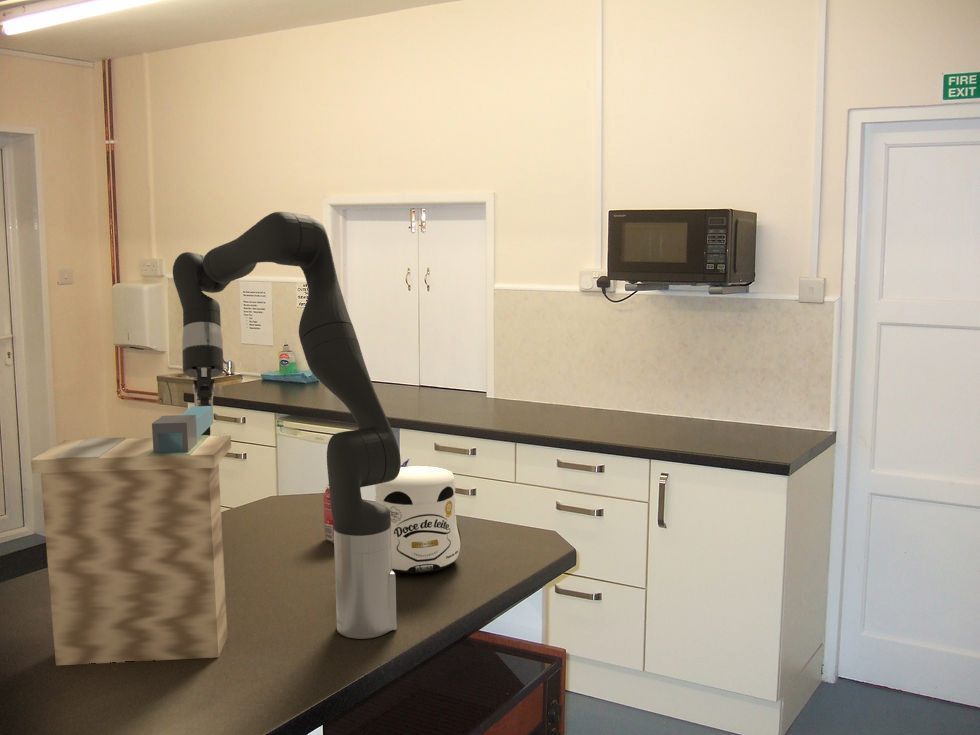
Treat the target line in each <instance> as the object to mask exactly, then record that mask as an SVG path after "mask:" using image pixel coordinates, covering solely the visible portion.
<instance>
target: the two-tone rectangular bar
mask: <svg viewBox="0 0 980 735" xmlns="http://www.w3.org/2000/svg"><path fill="white" fill-rule="evenodd" d="M213 406H214V405H213ZM213 406H195V405H194V406H193V405H192V406H191V407H189V408H188V409H187V410H185V411H184V412H183V413H182V414H180V415H179V414H178V415H161V416H160V417H159V418H158V419H156V420H154V422H152V423H151V431H152V435H151V436H152V438H153V451H154V453H182V452H189V451H190V450H191V449H192V448H193V447H194V446H195V445H196V444H197V438H199V437H200V436H201V435H202V434H203V433H204V432H205V431H206V430H207V429H208V428H209V427H210V428H211V427H212V425H213V424H214V407H213Z"/></svg>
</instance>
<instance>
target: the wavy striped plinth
mask: <svg viewBox="0 0 980 735" xmlns="http://www.w3.org/2000/svg"><path fill="white" fill-rule="evenodd" d="M231 449H232V436H231V435H213V436H211V435H210V436H209V435H201V436H200V437H199V438H197V444H196V445H195V446H194V447H193V448H192V449H191V450H190V451H189V452H182V453H154V451H153V437H140V438H139V437H138V438H137V437H136V438H135V437H132V438H126V437H97V438H96V437H95V438H92V437H91V438H89V437H88V438H85V439H66V440H63V441H61V442H59V443H58V444H56V445H54V446H52V447H50V448H49V449H47V450H46V451H44V452H42V453H40V454H39V455H37V456H35V457H34V458H32V459H30V464H31V465H30V468H31V474H40V482H41V483H40V484H41V496H42V498H41V499H42V507H43V519H44V520H43V522H44V531H45V535H44V536H45V545H46V546H45V547H46V558H47V569H48V570H47V571H48V582H49V583H48V584H49V585H48V586H49V596H50V609H51V610H50V611H51V620H52V634H53V646H54V655H55V656H54V658H55V660H54V661H55V666H69V665H71V666H72V665H92V664H91V663H96V664H111V663H112V662H116V663H126V662H125V661H135V662H149V661H153V660H155V661H169V660H174V661H175V660H189V659H210V658H211V659H213V658H219V657H220V655H221V653H222V650H223V648H224V646H225V643H226V642H227V639H228V624H227V623H228V622H227V621H228V620H227V604H226V585H225V584H226V582H225V580H226V579H225V563H224V562H225V561H224V546H223V545H224V544H223V543H224V541H223V525H222V524H223V523H222V508H221V506H222V505H221V502H222V501H221V487H220V486H221V485H220V468H219V467H220V466H219V465H220V464H219V463H220V462H221V461H222V460H223V459H224V457H225V456H226V455H227V454H228V452H229V451H230V450H231ZM110 662H111V663H110ZM153 662H154V661H153ZM89 663H90V664H89ZM112 664H113V663H112Z"/></svg>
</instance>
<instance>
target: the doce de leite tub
mask: <svg viewBox="0 0 980 735" xmlns="http://www.w3.org/2000/svg"><path fill="white" fill-rule="evenodd" d="M409 466H410V467H401V468H400V472H399V474H398V476H397V477H396V478H395V479H394V480H392V481H389V482H385V483H380V484H376V485H375V503H379V504H382V505H384V506H386V507H387V508H388V509H389V510H390V514H391V555H392V570H393V572H394V573H402V574H425V573H431V572H437V571H441V570H443V569H445V568H448V566H451V565H452V564H453V563H455V562H456V560H457V559H458V557H459V554H460V550H461V542H462V541H461V533H460V529H459V526H458V525H459V524H458V522H457V517H456V516H457V515H456V501H457V500H456V498H457V497H456V480H455V476H454V474H453V472H452V471H451V470H448V469H447V468H440V467H437V466H436V467H435V466H425V465H424V466H422V465H421V466H419V465H416V466H415V465H409Z"/></svg>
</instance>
